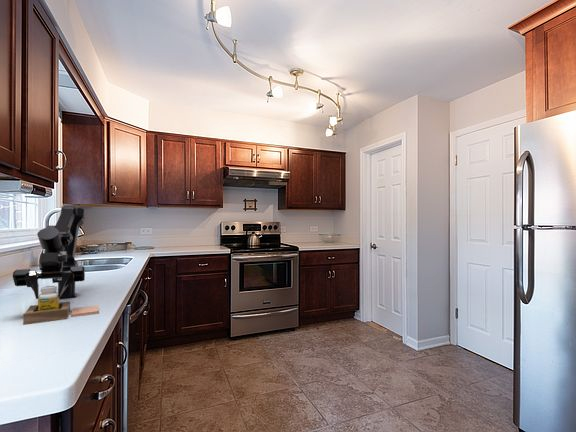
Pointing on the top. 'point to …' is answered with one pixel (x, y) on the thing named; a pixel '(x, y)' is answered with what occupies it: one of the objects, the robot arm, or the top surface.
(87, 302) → the top surface
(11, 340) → the top surface
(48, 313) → the pocket block
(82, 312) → the coaster
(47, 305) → the supplement bottle
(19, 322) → the top surface
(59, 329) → the top surface
